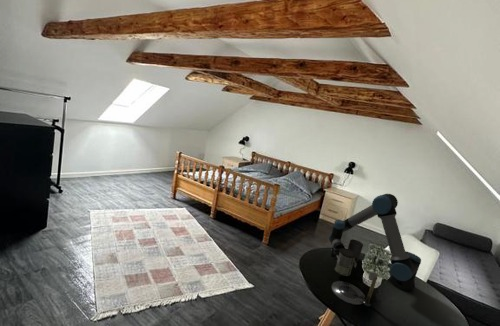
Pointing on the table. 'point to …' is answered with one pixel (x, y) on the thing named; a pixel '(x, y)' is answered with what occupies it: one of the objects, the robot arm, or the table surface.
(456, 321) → the table surface
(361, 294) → the turntable
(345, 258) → the coffee can
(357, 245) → the pillar candle
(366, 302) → the gauge stand
